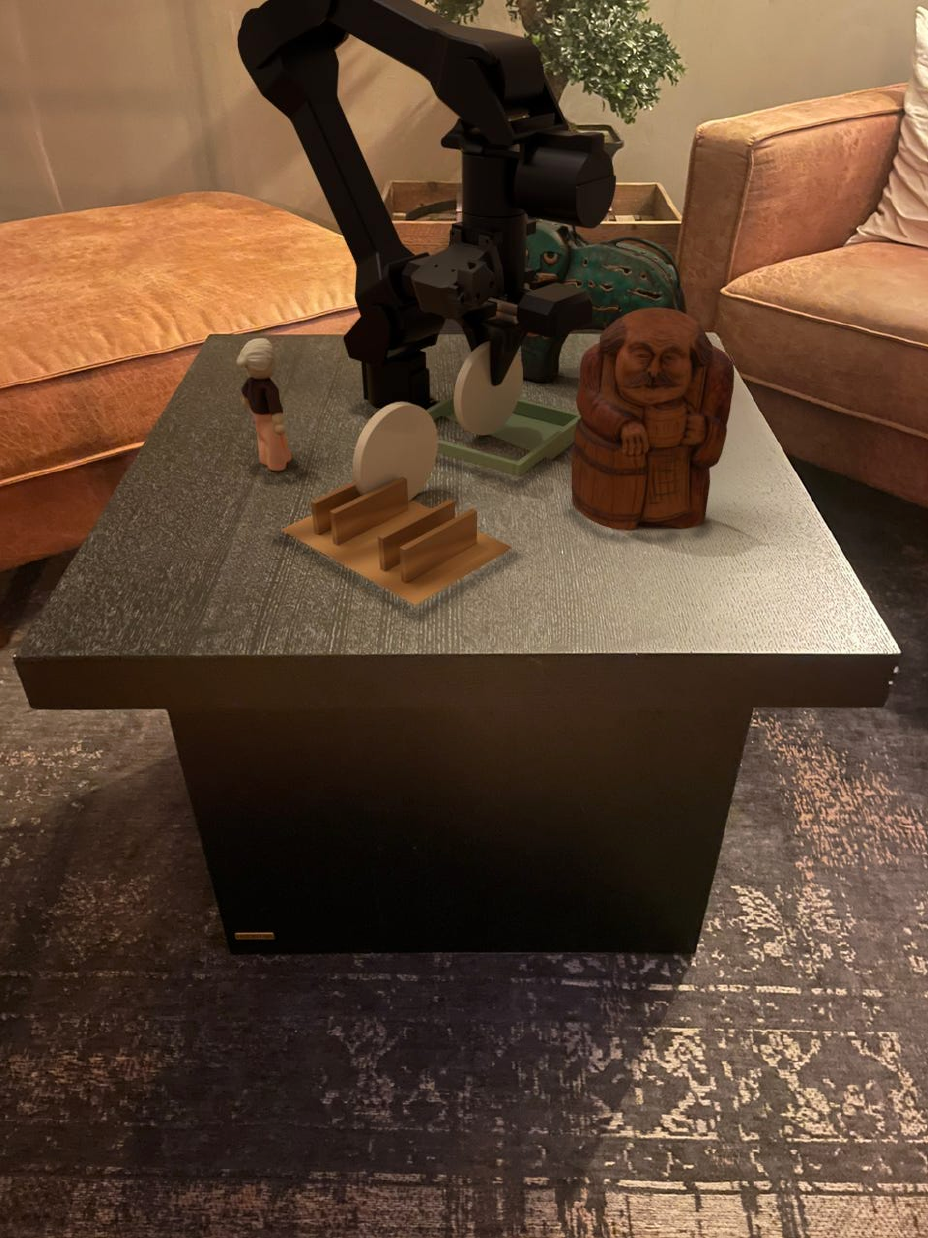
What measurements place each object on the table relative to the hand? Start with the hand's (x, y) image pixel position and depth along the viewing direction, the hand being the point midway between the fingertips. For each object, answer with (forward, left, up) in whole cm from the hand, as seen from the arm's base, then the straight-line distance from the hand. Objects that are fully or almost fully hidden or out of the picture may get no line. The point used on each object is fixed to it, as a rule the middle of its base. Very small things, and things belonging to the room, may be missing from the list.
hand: (491, 382), depth 88 cm
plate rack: (+4, -22, -6) cm, 23 cm away
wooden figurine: (+19, -7, -6) cm, 21 cm away
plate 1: (0, -20, -3) cm, 20 cm away
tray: (0, 0, -6) cm, 6 cm away
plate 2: (0, 0, -5) cm, 5 cm away
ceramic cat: (+2, +18, -6) cm, 19 cm away
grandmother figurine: (-14, -17, -6) cm, 23 cm away
